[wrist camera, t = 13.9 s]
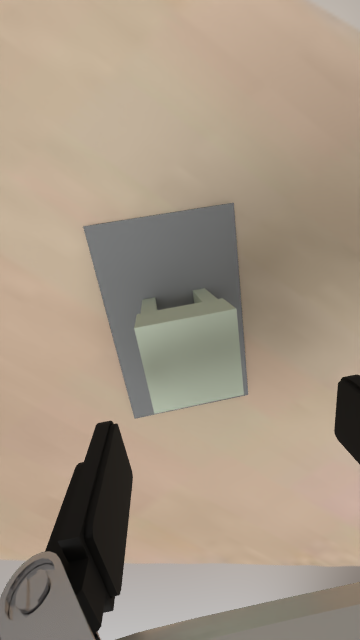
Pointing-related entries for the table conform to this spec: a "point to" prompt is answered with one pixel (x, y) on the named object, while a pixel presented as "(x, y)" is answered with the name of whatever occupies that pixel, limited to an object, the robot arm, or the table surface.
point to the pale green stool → (190, 352)
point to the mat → (163, 277)
